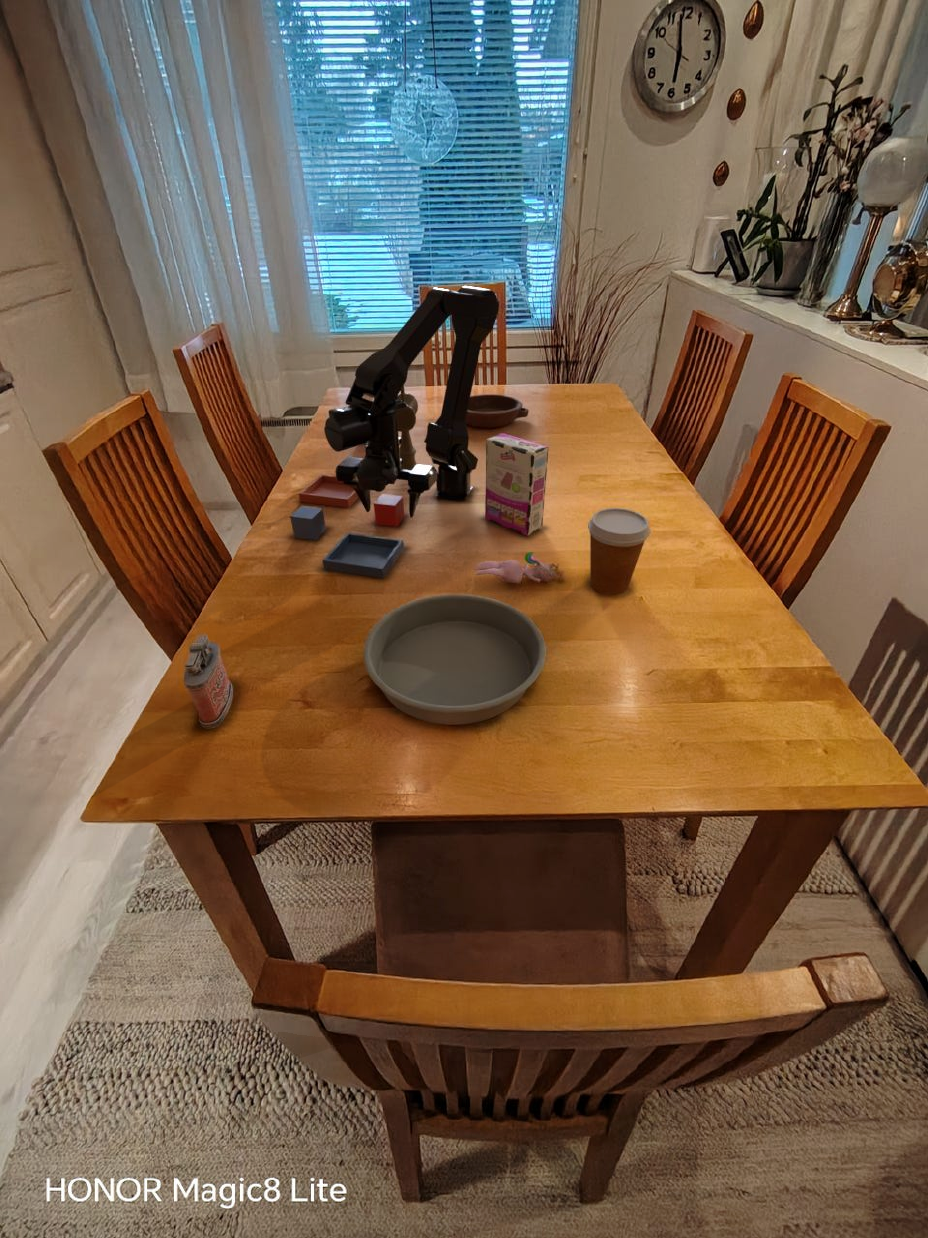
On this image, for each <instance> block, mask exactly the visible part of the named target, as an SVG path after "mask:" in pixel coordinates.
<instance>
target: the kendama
mask: <svg viewBox="0 0 928 1238" xmlns="http://www.w3.org/2000/svg"><path fill="white" fill-rule="evenodd" d="M398 397H399V399H400V400H401V401H403V402H404V403H405V404H406V405H407V406H406V408H403V409H400V410H397V422H398V433H399V432H400V433H401V435H400V438H401V442H402V443H401V444H400V445H399V448H400V459H403V465H402V466H401V469H405V470H412V469H413V468H414V467H415V466H416V464H418V463H417V462H416V453H417V449H416V447H414V445H413V442H412V437H411V433H410V431H412V430H413V429H414V427H415V426H416V422H417V416H416V414H417V412H418V410H419V403H418V400H417V399H416V397H415V396H414V395H413V394H411V393H408V392H405V385H404V386H403V387H402V389H401V391H400V393H399V394H398Z"/></svg>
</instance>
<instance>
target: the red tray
mask: <svg viewBox="0 0 928 1238" xmlns="http://www.w3.org/2000/svg"><path fill="white" fill-rule="evenodd" d="M298 498H299V502H301V503H308V504H315V505H324V506H330V507H331V506H332V507H340V508H346V509H347V508H348V509H349V508H350V507H351V506H353V504H354V503H355V502H356V501H357V500H358V499H360V498H359V497H358V495H357V493H356V492H355V490H354V489H353V488H351V487H350V486H348V485H344V483H343V481H337V479H336V475H331V474H319V475H318V476H317V477H316V478H314V479H313V481H312V482H310V483H309V484H308V485H307V486H305V487H304V488H303V489H302V490H301V491H300V492H298Z"/></svg>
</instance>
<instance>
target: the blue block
mask: <svg viewBox="0 0 928 1238" xmlns="http://www.w3.org/2000/svg"><path fill="white" fill-rule="evenodd" d="M289 518H290V519H289V520H290V523H291V528H292V532H293V538H294V539H295V538H296V539H301V540H302V539H303V540H308V541H309V540H311V541H317V540H318V538H320V536H321V535H322V534H323V533H324V532H325V531H326V530H327V526H326V520H325V513H324V508H322V507H314V506H306V505H301V506H299V507H298V508H297V509H296V510H295V511H294V512H293V513H292V514H291V515H290V516H289Z"/></svg>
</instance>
